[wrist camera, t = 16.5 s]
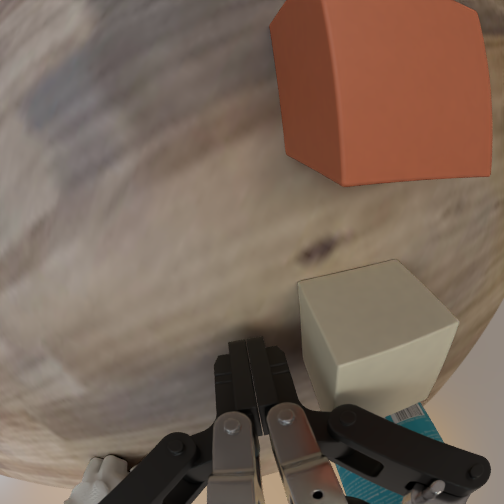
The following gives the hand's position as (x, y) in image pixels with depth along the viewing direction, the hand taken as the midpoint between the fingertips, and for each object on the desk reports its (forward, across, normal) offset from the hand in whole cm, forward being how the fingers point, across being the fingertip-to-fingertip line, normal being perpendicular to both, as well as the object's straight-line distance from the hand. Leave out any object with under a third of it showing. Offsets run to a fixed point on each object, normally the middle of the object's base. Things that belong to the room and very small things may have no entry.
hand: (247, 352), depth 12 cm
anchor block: (+1, -5, -10) cm, 12 cm away
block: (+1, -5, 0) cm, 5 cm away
